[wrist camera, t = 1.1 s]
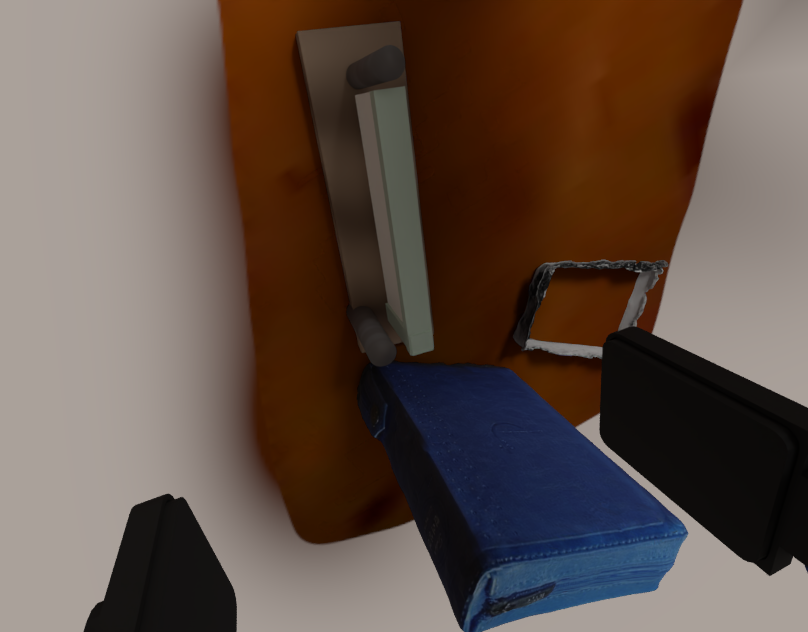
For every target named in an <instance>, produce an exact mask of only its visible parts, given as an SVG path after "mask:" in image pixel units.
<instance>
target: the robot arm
mask: <svg viewBox="0 0 808 632" xmlns="http://www.w3.org/2000/svg"><path fill="white" fill-rule="evenodd" d="M600 435H601V438H602V440H603V441H604V443H605V444H606V445H607V446H608V447H609V448H610V449H611V450H612V451H614V452H615V453H616V454H617V455H618V456H620V457H621V458H622V459H623V460H624V461H626V462H627V463H628V464H629V465H631V467H633V468H634V469H635V470H636V471H637V472H639V473H640V474H641V475H642V476H644V477H645V478H646V479H647V480H648V481H649V482H651V483H652V484H653V485H654V486H655V487H657V488H658V489H659V490H660V491H661V492H662V493H664V494H665V495H666V496H667V497H668V498H670V499H671V500H672V501H673V502H674V503H676V504H677V505H678V506H679V507H680V508H682V509H683V510H684V511H685V512H686V513H688V514H689V515H690V516H691V517H693V518H694V519H695V520H696V521H697V522H698V523H699V524H701V525H702V526H703V527H704V528H705V529H707V530H708V531H709V532H710V533H712V534H713V535H714V536H715V537H716V538H718V539H719V540H720V541H721V542H722V543H723V544H725V545H726V546H727V547H728V548H729V549H731V550H732V551H733V552H734V553H735V554H737V555H738V556H739V557H740V558H742V559H743V560H745V561H748V562H752V563H755V564H756V565H757V566H758V567H759V568H761V569H762V570H763V571H764V572H765V573H767V574H768V575H769V576H771V575H772V574H774V573H776V572H777V571H779V570H781V569H783V568H784V567H786V566H788V565H790V564H791V561H792V558H793V556H794V557H795V558H796V559H797V560H799V561H800V562H802V563H803V564H804V565H805V567H806V570H807V572H808V408H807V407H805V406H803V405H801V404H799V403H797V402H794V401H792V400H790V399H788V398H786V397H784V396H782V395H780V394H778V393H775V392H773V391H771V390H769V389H767V388H765V387H763V386H761V385H759V384H756V383H754V382H752V381H750V380H748V379H746V378H744V377H742V376H740V375H737V374H735V373H733V372H731V371H729V370H727V369H725V368H723V367H721V366H718V365H716V364H714V363H712V362H710V361H708V360H706V359H704V358H702V357H699V356H697V355H695V354H693V353H691V352H689V351H687V350H685V349H682V348H680V347H678V346H676V345H674V344H672V343H670V342H668V341H666V340H664V339H661V338H659V337H657V336H655V335H653V334H651V333H649V332H647V331H645V330H642V329H640V328H638V327H635V326H632V327H628V328H625V329H622V330H619V331H616V332H614V333H611V334H610V335H608V337H607V338H606V342H605V343H604V345H603V348H602V374H601V402H600ZM236 605H237V604H236V597H235V593H234V589H233V587H232V585H231V583H230V581H229V579H228V577H227V575H226V574H225V572H224V570H223V568H222V566H221V564H220V562H219V561H218V559H217V557H216V555H215V553H214V551H213V549H212V548H211V546H210V544H209V542H208V540H207V539H206V536H205V535H204V533H203V531H202V529H201V527H200V525H199V524H198V522H197V520H196V518H195V516H194V514H193V512H192V510H191V509H190V507H189V505H188V503H187V501H186V500H185V499H184V498H183V497H180V498H178V499H174V498H173V496H172V495H170V494H165V495H162V496H160V497H157V498H154V499H151V500H148V501H146V502H143V503H140V504H137V505H135V506H134V507H133V508H132V509H131V512H130V514H129V518H128V522H127V524H126V528H125V531H124V535H123V538H122V541H121V545H120V548H119V552H118V555H117V559H116V561H115V565H114V568H113V572H112V575H111V578H110V582H109V585H108V588H107V592H106V595H105V598H104V601H102V602H99V603H97V605H96V606H95V607H94V608H93V609H92V611H91V613H90V615H89V618H88V620H87V623H86V626H85V629H84V632H236V630H237V627H236V626H237V625H236V624H237V606H236Z"/></svg>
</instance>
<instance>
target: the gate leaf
mask: <svg viewBox="0 0 808 632" xmlns="http://www.w3.org/2000/svg"><path fill="white" fill-rule="evenodd" d="M355 99H356V105H357V112H358V118H359V124H360V131H361V137H362V143H363V149H364V156H365V162H366V168H367V175H368V181H369V187H370V194H371V200H372V206H373V212H374V219H375V225H376V231H377V238H378V244H379V250H380V257H381V263H382V269H383V275H384V282H385V288H386V294H387V301H388V303H385V305H386V311H387V317H388V321H389V323H390V324H391V325H392V327H393V328H394V330H395V331H396V333H397V334H398V335H399V337H400V338H401V340H402V341H403V343H404V344H405V345H406V348H407V351H408V352H409V354H410V355H413V356H414V355H418V354H421V353H425V352H428V351H432V350H433V349H434V342H433V333H432V324H431V315H430V306H429V297H428V288H427V279H426V270H425V261H424V252H423V243H422V234H421V225H420V216H419V207H418V198H417V189H416V180H415V171H414V162H413V153H412V144H411V135H410V126H409V117H408V108H407V99H406V90H405V86H403V87H396V88H389V89H381V90H374V91H369V92H367V93H363V94H359V95H355Z"/></svg>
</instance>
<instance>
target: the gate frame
mask: <svg viewBox="0 0 808 632" xmlns="http://www.w3.org/2000/svg"><path fill="white" fill-rule="evenodd" d="M296 40H297V45H298V50H299V55H300V60H301V65H302V70H303V75H304V79H305V84H306V89H307V94H308V99H309V104H310V109H311V114H312V119H313V124H314V129H315V134H316V139H317V144H318V149H319V153H320V158H321V163H322V168H323V173H324V178H325V183H326V188H327V193H328V198H329V203H330V208H331V213H332V218H333V223H334V227H335V232H336V237H337V242H338V247H339V252H340V257H341V262H342V267H343V272H344V277H345V282H346V287H347V292H348V297H349V301H350V304H349V306H348V307H347V311H346V313H347V316H348V318H349V320H350V322H351V324H352V326H353V328H354V330H355V332H356V336H357V341H358V346H359V348H360V350H361V352H362V353H365V352H366V354H367V356H368V358H369V360H370V361H371V363H372V364H374V365H375V366H380V367H382V366H386V365H388V364H390V363H391V362H392V361H393V360H394V359H395V357H396V353H397V351H396V347H395V345H394V344H397V343H401V342H403V341H402V340H401V338H400V337H399V335H398V334H397V333H396V331H395V330H394V328H393V327H392V325H391V324H390V323H389V321H388V317H387V311H386V305H385V303H388V301H387V294H386V288H385V282H384V275H383V269H382V263H381V257H380V250H379V244H378V238H377V231H376V225H375V219H374V212H373V206H372V200H371V194H370V187H369V181H368V175H367V168H366V162H365V156H364V149H363V143H362V137H361V131H360V124H359V118H358V112H357V105H356V99H355V95H359V94H363V93H367V92H369V91H374V90H381V89H389V88H396V87H403V86H405V90H406V99H407V108H408V117H409V126H410V135H411V144H412V153H413V162H414V171H415V180H416V189H417V198H418V207H419V216H420V225H421V234H422V243H423V252H424V261H425V270H426V279H427V288H428V297H429V306H430V315H431V324H432V333H434V327H433V318H432V309H431V300H430V291H429V281H428V272H427V263H426V254H425V245H424V236H423V226H422V217H421V208H420V199H419V190H418V181H417V171H416V162H415V153H414V144H413V135H412V125H411V116H410V107H409V98H408V89H407V80H406V70H405V58H404V52H403V43H402V34H401V25H400V21H396V22H386V23H376V24H365V25H355V26H345V27H335V28H325V29H315V30H305V31H297V33H296Z"/></svg>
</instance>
